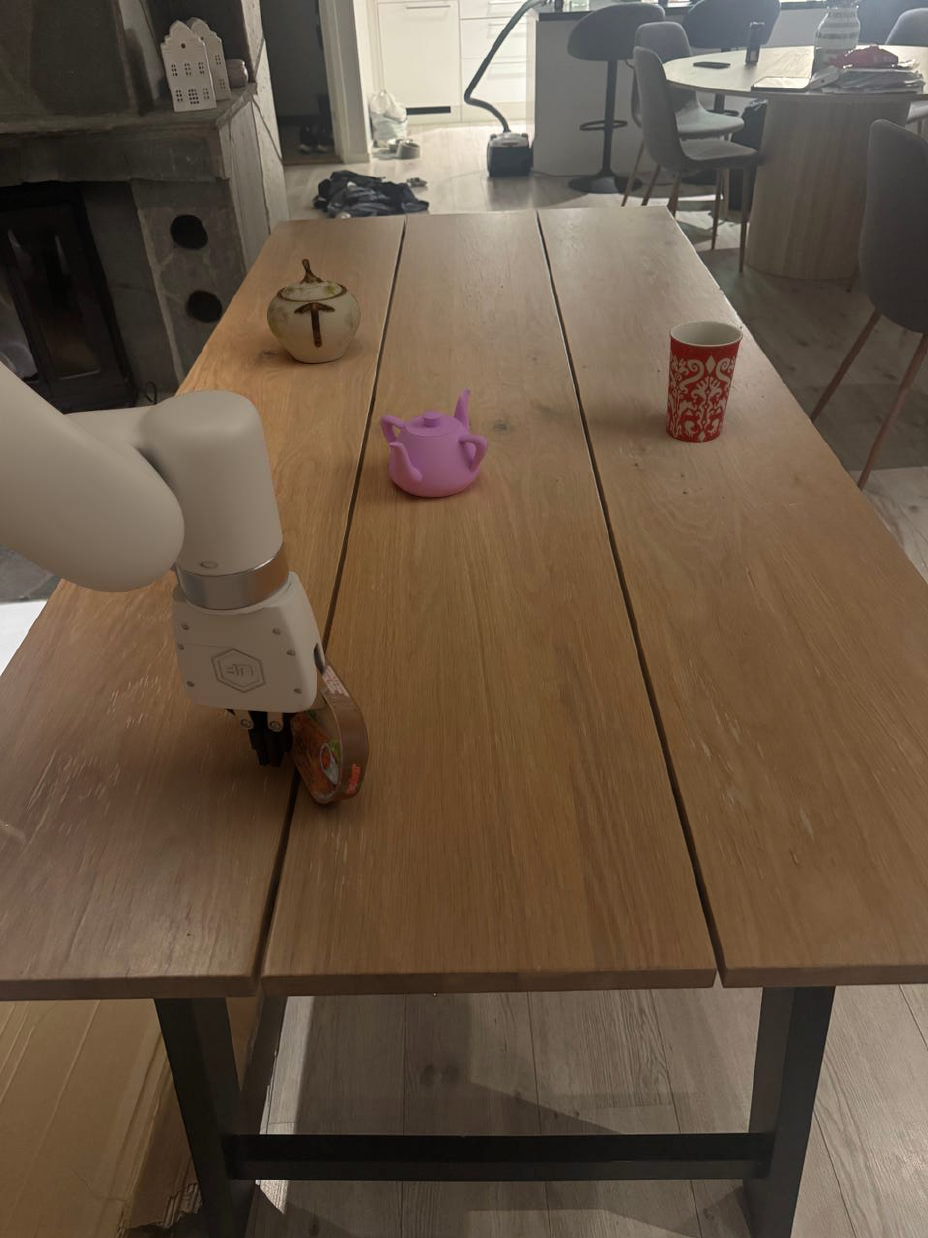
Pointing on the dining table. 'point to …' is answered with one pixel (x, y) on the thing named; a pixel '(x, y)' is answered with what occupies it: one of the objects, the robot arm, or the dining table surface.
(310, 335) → the sugar bowl
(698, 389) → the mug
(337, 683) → the tin
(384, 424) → the teapot
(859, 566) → the dining table surface
